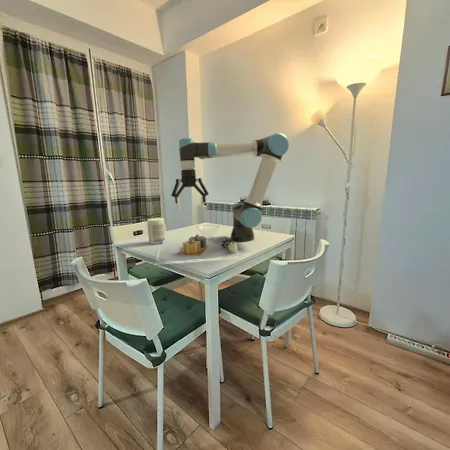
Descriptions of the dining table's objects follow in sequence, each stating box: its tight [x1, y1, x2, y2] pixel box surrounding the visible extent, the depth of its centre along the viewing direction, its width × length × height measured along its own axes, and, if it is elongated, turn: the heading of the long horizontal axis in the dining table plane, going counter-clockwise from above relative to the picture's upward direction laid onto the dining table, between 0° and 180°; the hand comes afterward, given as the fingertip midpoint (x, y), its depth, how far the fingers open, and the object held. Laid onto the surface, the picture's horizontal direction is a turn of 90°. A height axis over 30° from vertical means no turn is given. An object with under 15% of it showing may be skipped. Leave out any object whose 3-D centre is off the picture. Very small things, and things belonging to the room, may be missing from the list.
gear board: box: [177, 233, 211, 257], centre depth 135 cm, size 12×20×8 cm, turn 168°
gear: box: [188, 235, 207, 248], centre depth 139 cm, size 9×9×5 cm
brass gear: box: [182, 240, 201, 256], centre depth 130 cm, size 9×9×5 cm
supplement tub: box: [146, 217, 166, 245], centre depth 155 cm, size 10×10×15 cm
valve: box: [220, 238, 238, 257], centre depth 132 cm, size 7×7×12 cm
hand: (191, 208), depth 138 cm, fingers open, 13 cm apart
